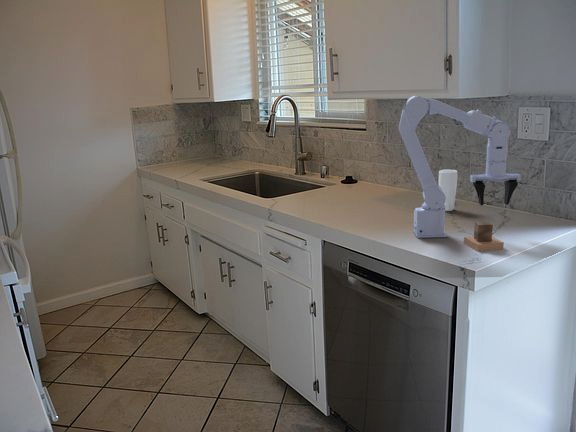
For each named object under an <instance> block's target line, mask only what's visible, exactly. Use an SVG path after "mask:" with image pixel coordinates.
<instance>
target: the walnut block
mask: <svg viewBox="0 0 576 432" xmlns="http://www.w3.org/2000/svg"><path fill="white" fill-rule="evenodd" d="M493 228H494V225H493V223H492V222H490V221H488V220H485V221H483V220H482V221H481V220H480V221H479V220H478V221H474V230H473V236H474V238H475V239H476V240H477V242H488V241H492V237H493Z"/></svg>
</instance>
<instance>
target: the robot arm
mask: <svg viewBox="0 0 576 432" xmlns="http://www.w3.org/2000/svg"><path fill="white" fill-rule="evenodd" d="M401 110H402V111H401V115H400V118H399V119H400V121H399V123H398V131H399V134H400V137H401V140H402V141H403V144H404V147H405V149H406V152H407V154H408V157H409V159H410V161H411V164H412V166H413V168H414V171H415V173H416V175H417V178H418V180H419V182H420V185H421V188H422V192H421V193H422V198H423V200H424V202H423V203H422V204H421V207H416V208H414V211H413V230H412V231H413V233H414V234H415V236H416V238H417V239H422V238H447V237H449V235H448V234H447V233H446V231H445V223H446V221H445V220H446V211H445V205H444V203H445V201H446V197H445V194H444V193H443V192H442V189H441V188H440V186H439V184H438V183H437V181H436V179H435V176H434V174H433V171H432V170H431V167H430V163H429V162H428V160H427V158H426V155H425V152H424V149H423V147H422V144H421V142H420V140H419V137H418V135H417V132H416V129H417V127H418V125H419V123H420V121H421V120H422V119H423V118H424V116H426V115H427V114H428V115H435V114H439V115H442V116H444V117H448V118H450V119H453V120H456V121H458V122H461V123H462V124H463V128H464V129H466V130H469V131H471V132H474V133H477V134H479V135H482V136H487V137H488V138H487V145H486V160H485V161H486V162H485V173H482V174H470V177H469V182H471V183H472V185H473V187H474V189H475V191H476V195H477V198H478V204H479V205H480V206H484V199H485V189H486V184H485V182H504V197H503V198H504V199H503V203H504V204H505V205H507V206H509V205H510V201H511V198H512V196H513V194H514V191H515V190H516V189H517V187H518V186H519V182H521V179H522V174H520V173H506V172H507V160H508V139H509V138H510V136H511V133H512V131H511V128H510V126H509V124H508V123H507V122H505V121H502V120H500V119H497V117H496V116H494V115H493V116H490V115H487V114H484V113H482V110H480V109H476V110H475V109H473V110H470V111H469V110H468V112H466V111H465V110H462V109H459V108H456V107H454V106H453V105H450V104H447V103H445V102H442V101H441V100H437V99H433V98H429V97H428V98H427V97H423V96H420V95H412V96H410V97H408V98H407V100H406V102H405V103H404V105H403V107H402V109H401Z"/></svg>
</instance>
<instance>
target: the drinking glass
mask: <svg viewBox="0 0 576 432" xmlns="http://www.w3.org/2000/svg"><path fill="white" fill-rule="evenodd" d="M437 181H438V186H440V188H441V189H442V192H443V193H444V194H445V197H446V201H445V203H444V205H445V212H452V211H454V210H455V204H456V195H457V186H458V170H456V169H448V168H447V169H440V170H438V180H437Z"/></svg>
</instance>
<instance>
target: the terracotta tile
mask: <svg viewBox="0 0 576 432" xmlns="http://www.w3.org/2000/svg"><path fill="white" fill-rule="evenodd" d="M463 244H464V245H466V246H467V247H469V248H470V249H472V250H474V251H476V252H485V251H487V252H488V251H495V250H496V251H497V250H504V242H503V241H502V240H500V239H498V238H496V237H494V236H492V241H488V242H477V240H476V239H475V238H474V235H472V236H470V235H469V236H464V237H463Z"/></svg>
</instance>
